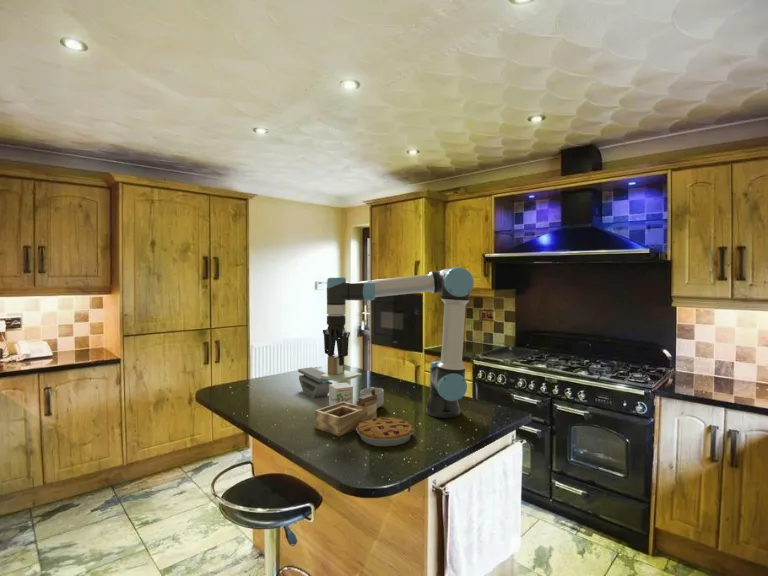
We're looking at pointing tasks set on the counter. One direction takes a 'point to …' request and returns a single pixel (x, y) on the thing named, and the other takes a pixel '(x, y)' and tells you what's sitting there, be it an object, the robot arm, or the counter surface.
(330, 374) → the lid
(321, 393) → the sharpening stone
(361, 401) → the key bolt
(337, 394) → the ink box
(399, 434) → the pie
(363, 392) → the teacup
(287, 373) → the counter surface
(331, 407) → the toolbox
